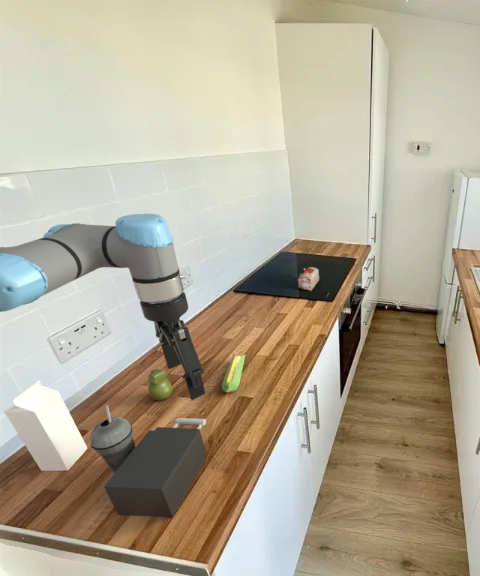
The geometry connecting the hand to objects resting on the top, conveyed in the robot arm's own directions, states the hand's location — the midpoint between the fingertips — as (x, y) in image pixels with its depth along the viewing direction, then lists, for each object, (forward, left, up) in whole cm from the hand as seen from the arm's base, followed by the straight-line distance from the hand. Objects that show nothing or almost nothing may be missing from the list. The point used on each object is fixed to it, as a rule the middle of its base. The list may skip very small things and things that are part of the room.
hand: (185, 380), depth 72 cm
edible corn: (-4, +28, -23) cm, 36 cm away
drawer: (-4, -4, -22) cm, 23 cm away
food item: (+5, +98, -23) cm, 101 cm away
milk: (-32, -4, -23) cm, 39 cm away
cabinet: (-4, -9, -23) cm, 25 cm away
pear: (-21, +17, -23) cm, 35 cm away
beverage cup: (-15, -6, -23) cm, 28 cm away
